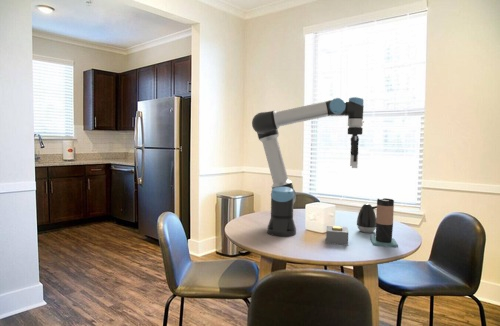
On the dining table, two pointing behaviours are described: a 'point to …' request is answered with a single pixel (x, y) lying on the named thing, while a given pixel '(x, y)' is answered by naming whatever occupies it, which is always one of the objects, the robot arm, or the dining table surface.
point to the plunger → (337, 228)
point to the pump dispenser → (366, 219)
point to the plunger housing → (337, 236)
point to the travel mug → (384, 220)
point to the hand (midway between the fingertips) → (353, 167)
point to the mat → (391, 244)
